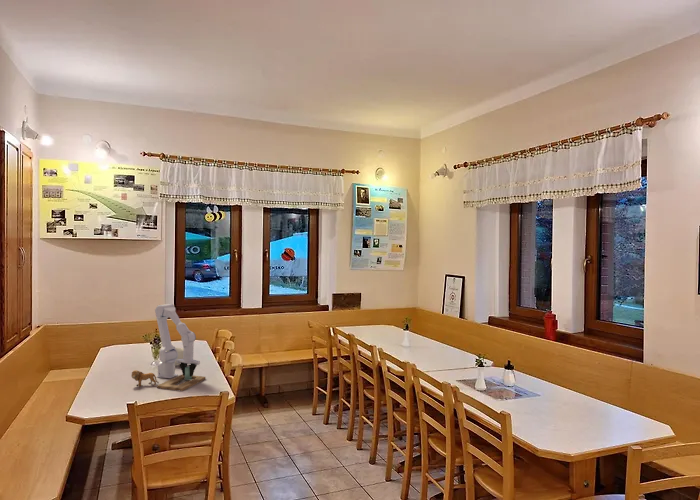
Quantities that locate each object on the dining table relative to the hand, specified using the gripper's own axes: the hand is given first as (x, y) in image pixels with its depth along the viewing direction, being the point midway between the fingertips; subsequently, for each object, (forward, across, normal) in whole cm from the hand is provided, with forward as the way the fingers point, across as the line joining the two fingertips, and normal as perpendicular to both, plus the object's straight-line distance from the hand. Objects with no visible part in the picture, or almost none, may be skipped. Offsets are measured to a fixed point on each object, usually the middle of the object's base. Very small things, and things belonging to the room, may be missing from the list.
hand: (188, 375), depth 290 cm
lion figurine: (+3, +18, +15) cm, 24 cm away
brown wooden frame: (+3, 0, +6) cm, 7 cm away
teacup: (+3, +27, -30) cm, 40 cm away
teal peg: (+2, 0, 0) cm, 2 cm away
